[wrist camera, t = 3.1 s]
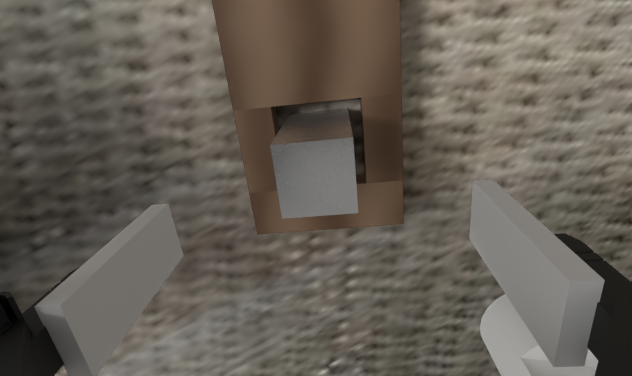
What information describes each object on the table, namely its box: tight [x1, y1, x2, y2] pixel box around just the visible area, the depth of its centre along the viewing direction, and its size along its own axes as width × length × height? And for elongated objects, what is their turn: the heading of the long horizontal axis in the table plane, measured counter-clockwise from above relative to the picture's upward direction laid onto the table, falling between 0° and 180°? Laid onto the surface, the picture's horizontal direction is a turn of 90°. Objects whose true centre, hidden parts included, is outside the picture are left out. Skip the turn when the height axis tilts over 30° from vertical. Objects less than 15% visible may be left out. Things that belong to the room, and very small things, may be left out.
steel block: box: [270, 108, 358, 219], centre depth 24 cm, size 4×4×9 cm
